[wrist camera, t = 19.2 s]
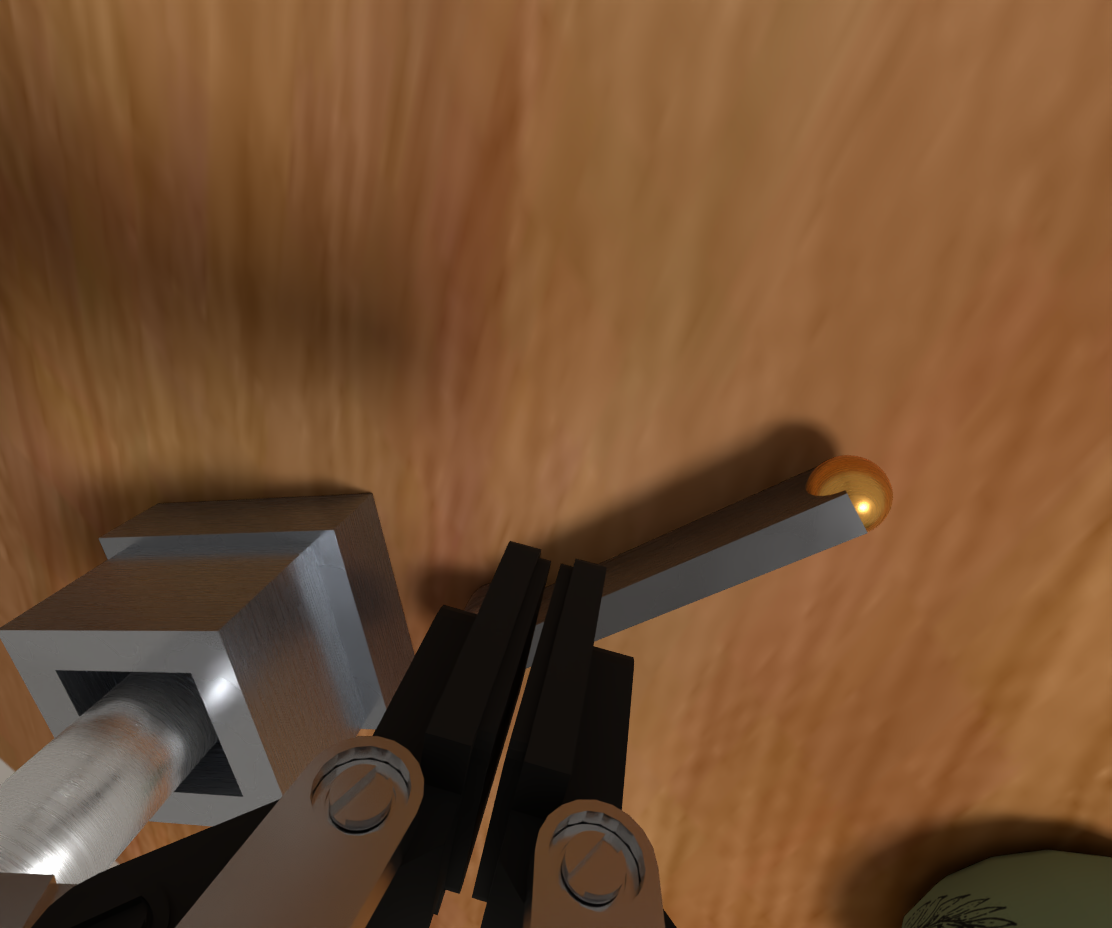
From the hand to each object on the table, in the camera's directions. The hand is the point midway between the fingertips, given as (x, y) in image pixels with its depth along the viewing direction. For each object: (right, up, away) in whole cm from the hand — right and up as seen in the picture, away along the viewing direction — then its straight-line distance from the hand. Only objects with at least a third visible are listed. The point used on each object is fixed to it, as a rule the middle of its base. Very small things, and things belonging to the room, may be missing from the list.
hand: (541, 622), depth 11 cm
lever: (+4, -1, +12) cm, 13 cm away
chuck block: (-11, -3, +17) cm, 20 cm away
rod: (-12, -4, +14) cm, 19 cm away
